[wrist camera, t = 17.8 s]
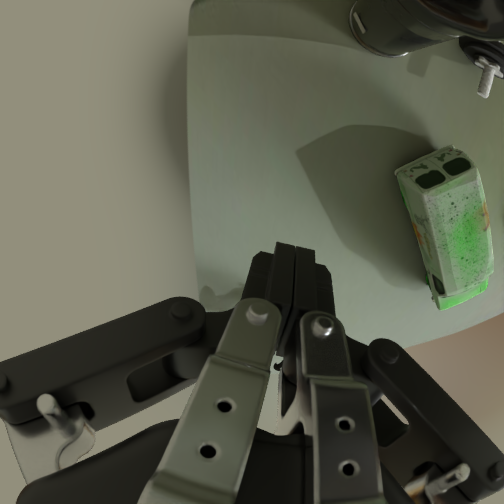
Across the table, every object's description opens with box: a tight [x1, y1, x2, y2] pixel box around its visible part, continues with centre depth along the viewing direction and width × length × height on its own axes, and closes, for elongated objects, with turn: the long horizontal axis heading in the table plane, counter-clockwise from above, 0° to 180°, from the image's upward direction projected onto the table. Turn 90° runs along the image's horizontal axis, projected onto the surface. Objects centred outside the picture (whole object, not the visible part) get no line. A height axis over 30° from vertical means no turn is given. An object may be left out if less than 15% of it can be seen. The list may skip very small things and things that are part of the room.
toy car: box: [394, 145, 493, 310], centre depth 33 cm, size 11×25×10 cm, turn 32°
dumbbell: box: [459, 36, 504, 98], centre depth 17 cm, size 22×10×10 cm, turn 164°
